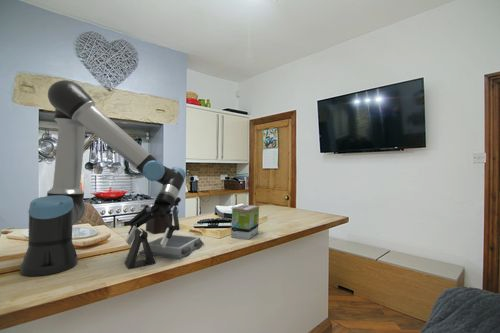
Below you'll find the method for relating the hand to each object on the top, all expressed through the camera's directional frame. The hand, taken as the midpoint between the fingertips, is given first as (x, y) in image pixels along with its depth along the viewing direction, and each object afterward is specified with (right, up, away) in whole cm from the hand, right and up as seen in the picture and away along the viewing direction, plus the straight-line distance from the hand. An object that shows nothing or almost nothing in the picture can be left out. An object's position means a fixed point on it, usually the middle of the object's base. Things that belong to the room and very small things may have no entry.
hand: (145, 244), depth 92 cm
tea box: (+35, -8, +41) cm, 54 cm away
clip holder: (+6, -7, +16) cm, 18 cm away
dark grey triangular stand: (-1, -7, -1) cm, 7 cm away
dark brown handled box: (-9, -7, +48) cm, 49 cm away
